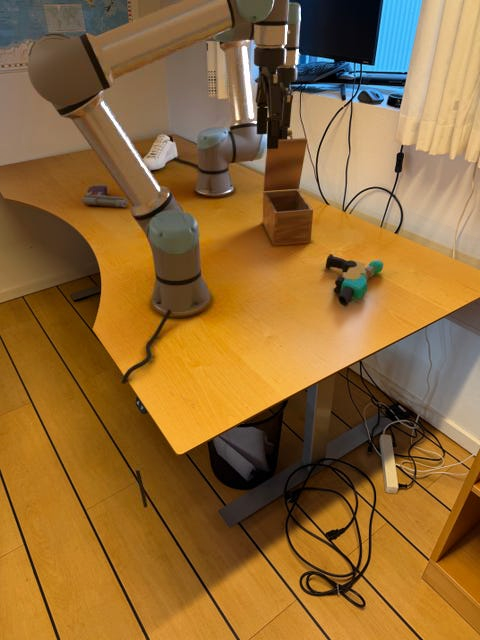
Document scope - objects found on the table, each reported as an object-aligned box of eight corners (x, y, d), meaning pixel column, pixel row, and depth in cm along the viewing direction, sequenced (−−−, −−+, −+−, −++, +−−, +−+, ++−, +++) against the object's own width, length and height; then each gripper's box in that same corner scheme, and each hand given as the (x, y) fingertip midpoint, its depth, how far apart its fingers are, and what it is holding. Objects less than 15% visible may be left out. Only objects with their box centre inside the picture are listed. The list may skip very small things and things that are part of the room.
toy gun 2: (303, 285, 123) (360, 300, 117) (335, 245, 141) (386, 256, 135) (302, 300, 125) (358, 315, 119) (334, 258, 144) (383, 270, 138)
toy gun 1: (139, 195, 187) (124, 210, 175) (95, 192, 190) (77, 207, 178) (137, 185, 184) (122, 200, 173) (93, 182, 188) (75, 197, 176)
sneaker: (133, 173, 208) (129, 144, 201) (161, 153, 230) (158, 127, 223) (155, 175, 205) (151, 146, 198) (180, 155, 227) (178, 129, 220)
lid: (307, 139, 145) (301, 124, 149) (268, 142, 143) (263, 126, 148) (298, 188, 159) (293, 173, 164) (263, 191, 158) (258, 175, 163)
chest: (310, 242, 153) (313, 210, 146) (273, 245, 151) (274, 213, 145) (296, 220, 167) (298, 189, 160) (262, 222, 165) (263, 192, 159)
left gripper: (299, 52, 100) (292, 154, 113) (274, 40, 120) (270, 128, 133) (265, 53, 100) (261, 156, 112) (245, 40, 120) (244, 129, 132)
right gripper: (304, 69, 133) (298, 154, 147) (291, 61, 145) (287, 141, 159) (277, 70, 132) (275, 156, 146) (267, 62, 144) (265, 142, 158)
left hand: (266, 141), depth 122 cm, fingers open, 13 cm apart
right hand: (281, 148), depth 153 cm, fingers closed on lid, 2 cm apart
